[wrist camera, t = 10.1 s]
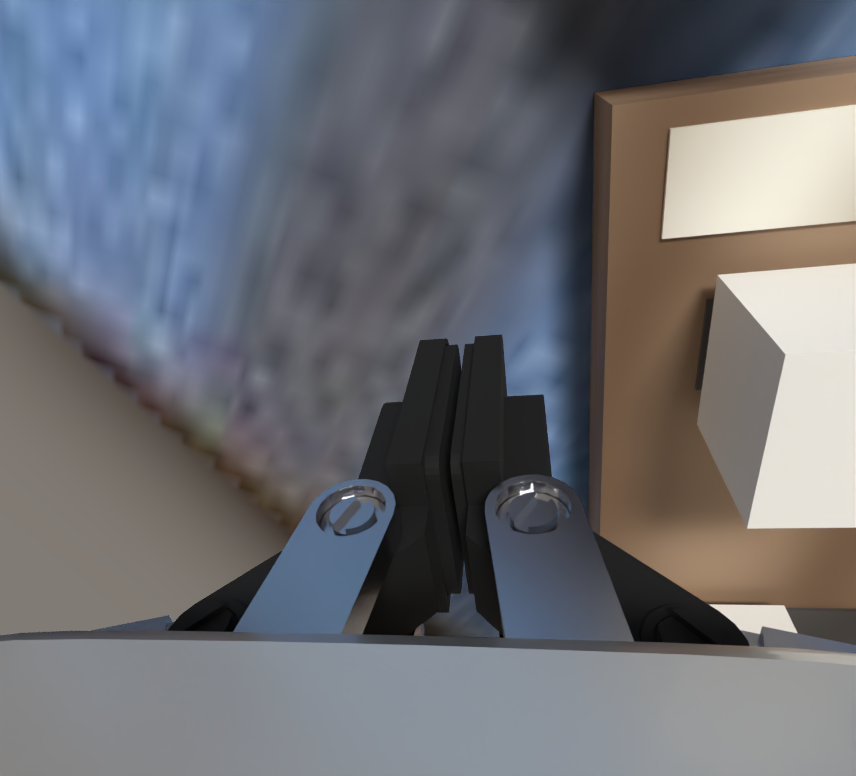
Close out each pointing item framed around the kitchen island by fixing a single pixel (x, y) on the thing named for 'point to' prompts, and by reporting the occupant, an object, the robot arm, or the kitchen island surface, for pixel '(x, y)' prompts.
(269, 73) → the kitchen island surface
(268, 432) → the kitchen island surface
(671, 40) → the kitchen island surface
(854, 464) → the tab
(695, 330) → the switch board
